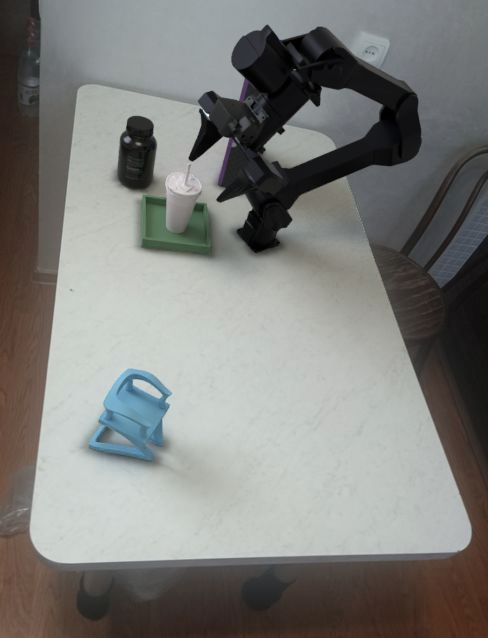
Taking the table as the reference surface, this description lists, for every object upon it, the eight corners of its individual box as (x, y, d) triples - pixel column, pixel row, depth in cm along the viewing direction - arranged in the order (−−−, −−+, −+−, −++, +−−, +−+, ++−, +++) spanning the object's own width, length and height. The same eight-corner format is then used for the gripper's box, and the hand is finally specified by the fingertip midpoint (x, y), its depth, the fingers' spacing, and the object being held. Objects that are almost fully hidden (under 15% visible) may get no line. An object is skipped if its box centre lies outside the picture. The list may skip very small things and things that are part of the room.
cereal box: (240, 144, 122) (270, 35, 104) (259, 152, 123) (293, 44, 104) (217, 184, 111) (246, 69, 93) (238, 193, 111) (272, 80, 93)
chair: (143, 476, 70) (155, 432, 61) (87, 446, 70) (90, 398, 61) (171, 430, 75) (185, 383, 66) (118, 403, 75) (125, 352, 66)
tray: (204, 211, 105) (206, 203, 103) (209, 255, 98) (211, 247, 96) (141, 202, 102) (142, 194, 100) (141, 247, 95) (142, 238, 93)
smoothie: (160, 237, 97) (171, 171, 86) (156, 213, 100) (167, 147, 90) (195, 239, 99) (210, 175, 88) (190, 216, 102) (205, 151, 92)
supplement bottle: (159, 181, 107) (167, 126, 98) (136, 194, 103) (143, 138, 94) (132, 163, 108) (138, 107, 99) (109, 176, 104) (113, 119, 95)
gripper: (215, 40, 77) (145, 122, 83) (284, 132, 72) (204, 212, 78) (252, 75, 87) (187, 146, 93) (315, 158, 81) (242, 227, 88)
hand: (203, 180), depth 87 cm, fingers open, 9 cm apart
